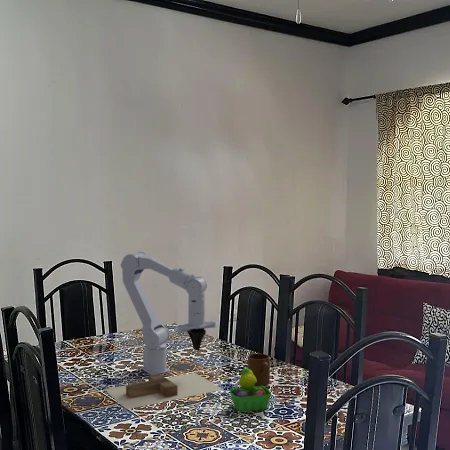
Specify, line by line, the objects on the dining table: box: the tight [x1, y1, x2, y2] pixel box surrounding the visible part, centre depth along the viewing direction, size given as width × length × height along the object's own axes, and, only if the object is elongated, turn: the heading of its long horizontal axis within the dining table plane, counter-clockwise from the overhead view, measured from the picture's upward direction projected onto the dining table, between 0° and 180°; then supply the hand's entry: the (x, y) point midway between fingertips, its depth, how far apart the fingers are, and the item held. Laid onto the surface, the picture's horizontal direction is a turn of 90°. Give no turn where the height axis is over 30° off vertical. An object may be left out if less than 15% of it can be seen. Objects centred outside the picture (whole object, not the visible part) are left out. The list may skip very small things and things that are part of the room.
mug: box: [247, 353, 271, 387], centre depth 192 cm, size 12×8×9 cm, turn 16°
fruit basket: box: [229, 367, 272, 413], centre depth 173 cm, size 11×9×11 cm
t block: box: [125, 374, 178, 398], centre depth 185 cm, size 14×14×3 cm
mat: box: [103, 372, 224, 410], centre depth 188 cm, size 20×34×1 cm, turn 121°
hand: (196, 349), depth 201 cm, fingers closed
